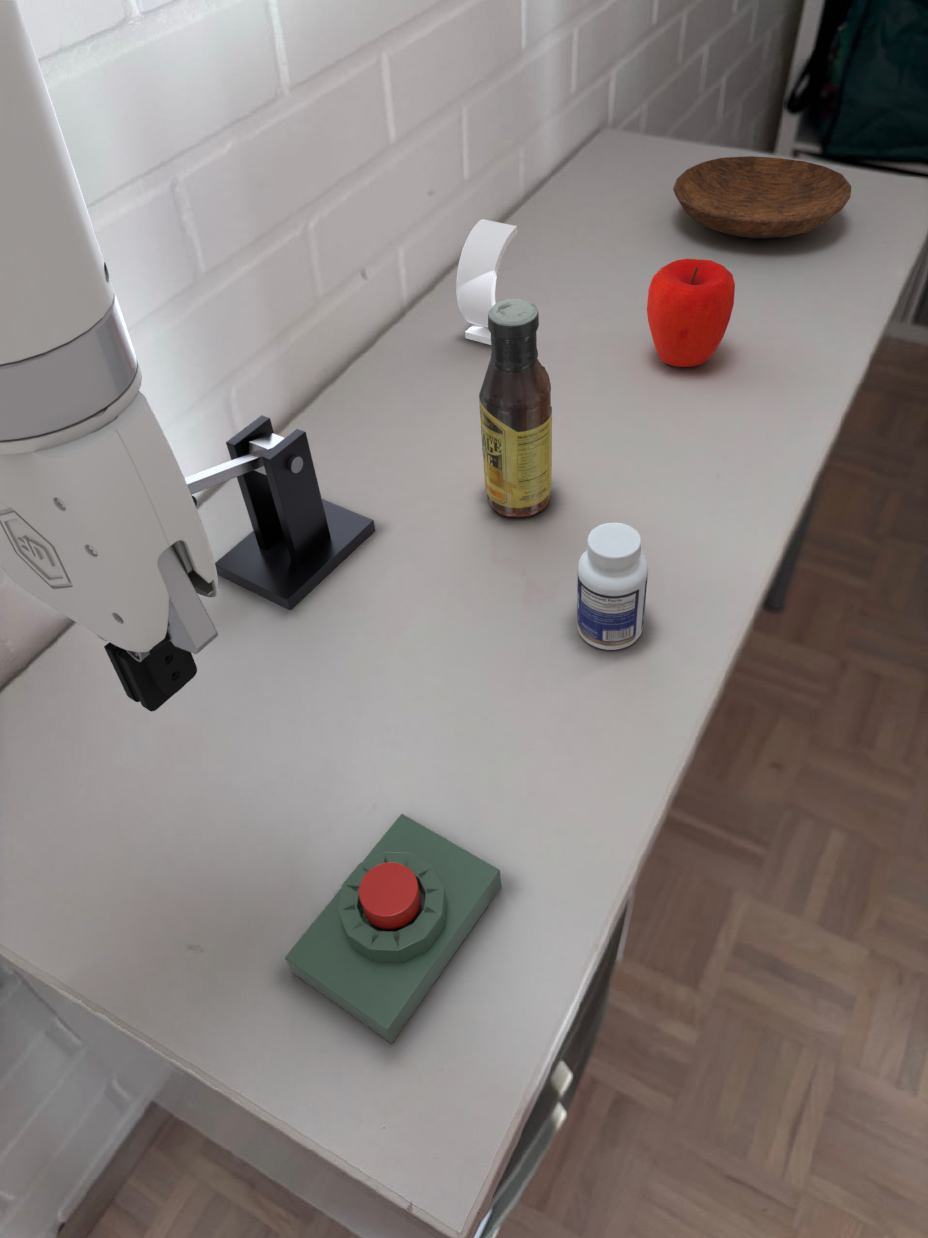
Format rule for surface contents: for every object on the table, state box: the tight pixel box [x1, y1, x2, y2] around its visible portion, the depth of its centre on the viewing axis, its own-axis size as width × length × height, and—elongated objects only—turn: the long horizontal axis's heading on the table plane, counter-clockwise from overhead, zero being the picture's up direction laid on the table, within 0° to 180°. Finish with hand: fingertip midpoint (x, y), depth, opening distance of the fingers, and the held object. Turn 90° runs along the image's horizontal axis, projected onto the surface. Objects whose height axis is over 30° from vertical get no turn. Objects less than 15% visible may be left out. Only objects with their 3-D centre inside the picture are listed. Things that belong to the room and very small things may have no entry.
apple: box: [646, 258, 736, 368], centre depth 100 cm, size 9×9×11 cm
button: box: [359, 862, 421, 929], centre depth 58 cm, size 4×4×2 cm
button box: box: [284, 813, 502, 1044], centre depth 60 cm, size 12×8×4 cm, turn 146°
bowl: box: [672, 155, 852, 239], centre depth 123 cm, size 20×22×5 cm
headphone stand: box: [455, 218, 518, 346], centre depth 106 cm, size 5×6×12 cm
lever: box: [184, 433, 285, 507], centre depth 75 cm, size 13×5×2 cm, turn 145°
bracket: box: [215, 414, 376, 611], centre depth 82 cm, size 12×9×13 cm
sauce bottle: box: [478, 298, 553, 518], centre depth 82 cm, size 7×6×20 cm
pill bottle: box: [576, 522, 649, 651], centre depth 74 cm, size 5×5×10 cm
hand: (164, 686), depth 47 cm, fingers closed
